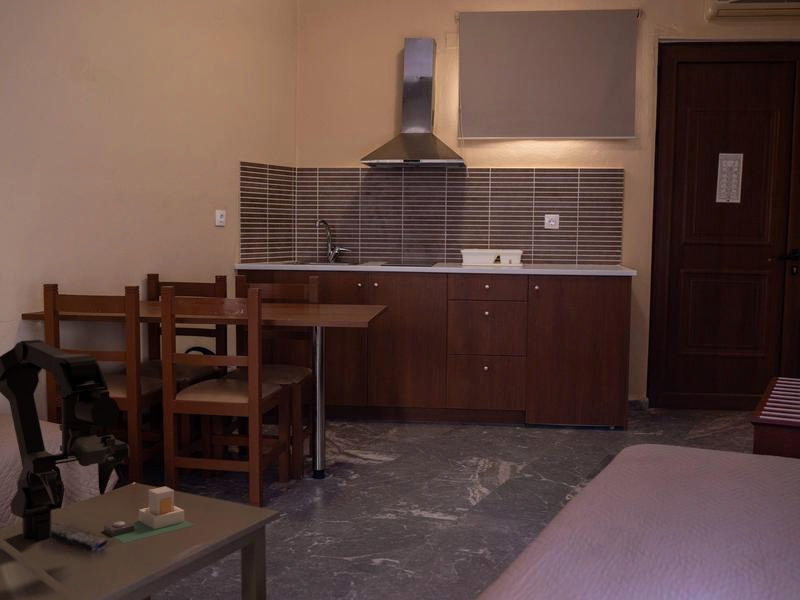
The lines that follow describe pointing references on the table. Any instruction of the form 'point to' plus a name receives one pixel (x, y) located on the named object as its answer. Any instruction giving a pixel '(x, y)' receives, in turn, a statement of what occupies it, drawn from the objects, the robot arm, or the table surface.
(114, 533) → the push button
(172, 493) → the plug
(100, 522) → the table surface
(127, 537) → the header board
